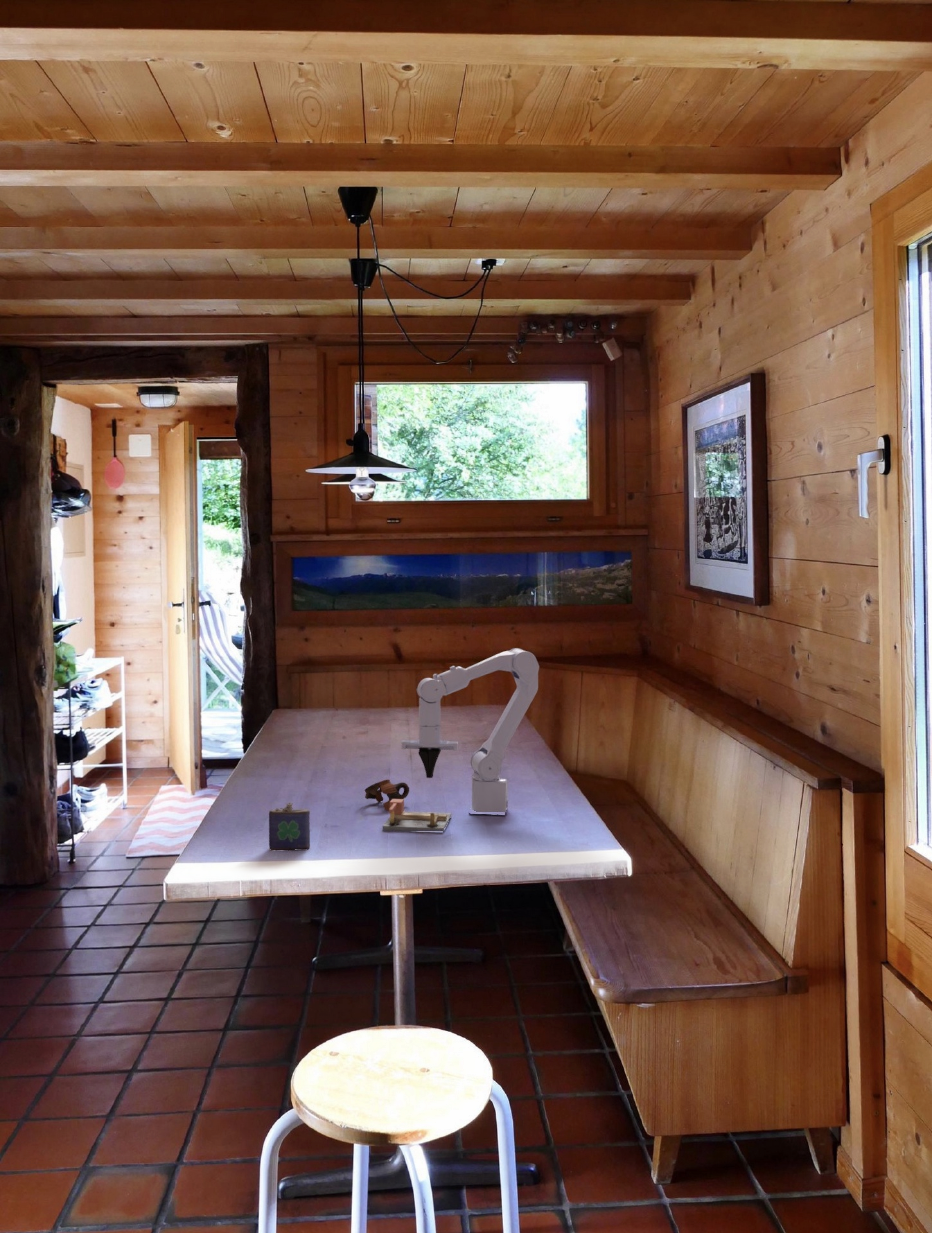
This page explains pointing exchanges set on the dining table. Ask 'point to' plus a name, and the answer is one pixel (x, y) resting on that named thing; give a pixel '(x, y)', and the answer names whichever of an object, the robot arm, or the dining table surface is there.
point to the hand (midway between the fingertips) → (429, 777)
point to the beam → (422, 817)
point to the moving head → (396, 808)
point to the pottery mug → (386, 791)
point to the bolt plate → (416, 824)
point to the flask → (289, 828)
